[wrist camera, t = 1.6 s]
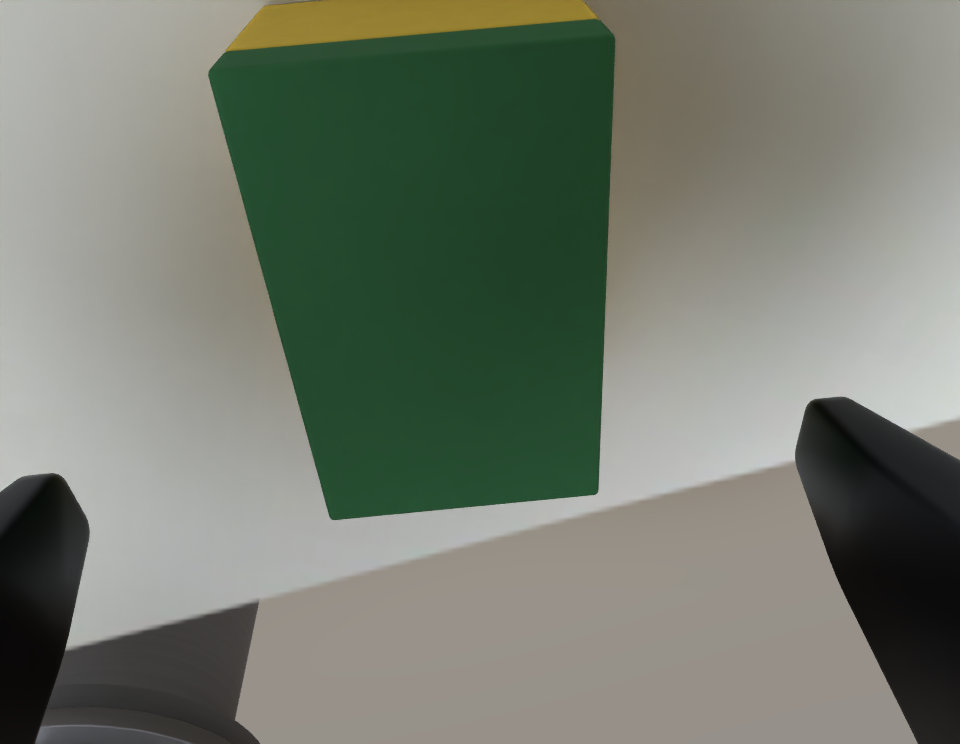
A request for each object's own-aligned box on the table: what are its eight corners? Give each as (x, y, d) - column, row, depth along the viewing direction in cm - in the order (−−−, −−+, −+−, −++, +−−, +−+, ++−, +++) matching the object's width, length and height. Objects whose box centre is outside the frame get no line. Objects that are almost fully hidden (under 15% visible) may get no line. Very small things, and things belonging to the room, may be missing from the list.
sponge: (565, 369, 17) (599, 496, 14) (346, 389, 17) (329, 522, 14) (565, -22, 12) (616, 33, 9) (261, 5, 12) (204, 70, 9)
